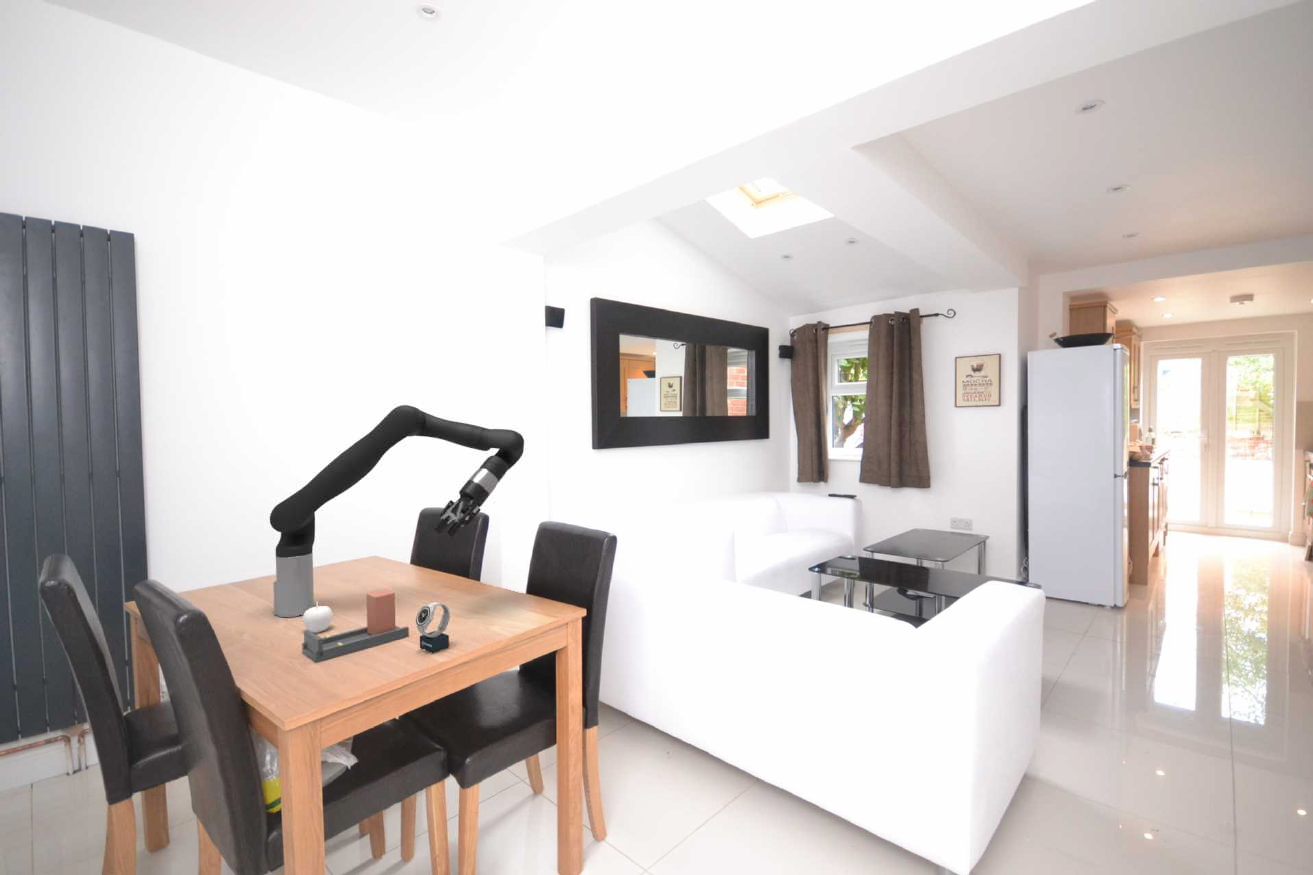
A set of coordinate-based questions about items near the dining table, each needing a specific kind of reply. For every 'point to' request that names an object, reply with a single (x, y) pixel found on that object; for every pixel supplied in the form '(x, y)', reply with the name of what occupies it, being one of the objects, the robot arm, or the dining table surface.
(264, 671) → the dining table surface
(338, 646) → the rail
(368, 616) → the block
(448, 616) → the watch
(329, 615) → the plain white apple
